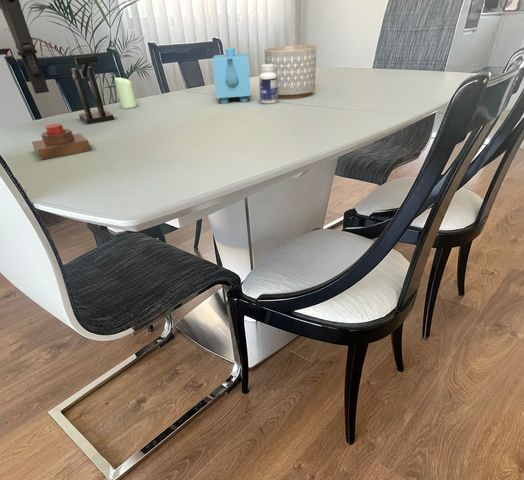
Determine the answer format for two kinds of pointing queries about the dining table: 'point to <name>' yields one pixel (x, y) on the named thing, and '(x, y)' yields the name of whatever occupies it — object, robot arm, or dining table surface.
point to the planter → (293, 69)
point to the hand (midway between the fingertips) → (42, 92)
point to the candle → (125, 93)
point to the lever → (85, 66)
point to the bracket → (88, 116)
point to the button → (54, 129)
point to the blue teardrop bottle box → (231, 75)
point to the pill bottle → (268, 84)
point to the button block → (60, 144)
